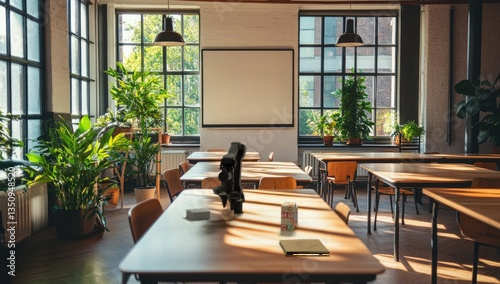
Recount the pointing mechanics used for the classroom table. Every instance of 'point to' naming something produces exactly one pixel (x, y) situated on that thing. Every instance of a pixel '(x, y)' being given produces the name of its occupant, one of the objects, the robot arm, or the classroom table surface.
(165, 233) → the classroom table surface
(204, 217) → the base block
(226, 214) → the terracotta cube
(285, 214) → the printed carton
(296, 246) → the olive notebook
